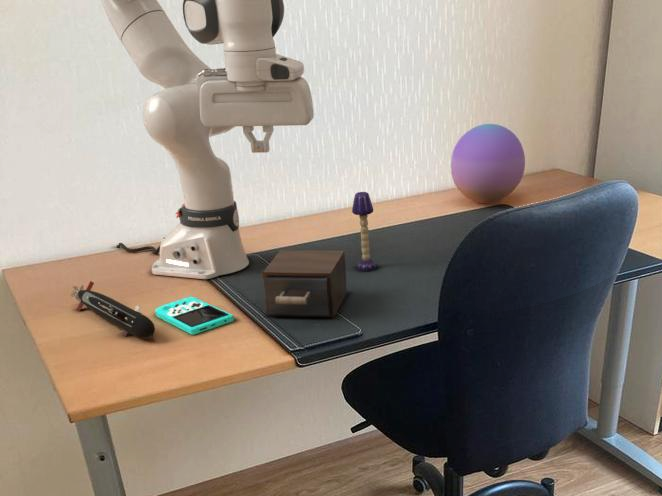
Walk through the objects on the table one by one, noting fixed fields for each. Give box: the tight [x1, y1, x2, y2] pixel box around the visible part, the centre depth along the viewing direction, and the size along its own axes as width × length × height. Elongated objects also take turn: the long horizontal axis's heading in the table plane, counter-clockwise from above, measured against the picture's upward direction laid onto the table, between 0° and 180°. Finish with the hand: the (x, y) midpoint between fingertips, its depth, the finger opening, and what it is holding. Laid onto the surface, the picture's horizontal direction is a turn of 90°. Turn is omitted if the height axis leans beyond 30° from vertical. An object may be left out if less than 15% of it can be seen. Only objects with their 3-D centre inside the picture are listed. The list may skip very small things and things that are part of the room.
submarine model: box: [70, 280, 156, 339], centre depth 166 cm, size 31×7×10 cm
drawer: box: [264, 276, 330, 316], centre depth 166 cm, size 17×12×7 cm
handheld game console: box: [154, 296, 235, 336], centre depth 169 cm, size 10×16×1 cm, turn 41°
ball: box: [450, 123, 526, 204], centre depth 225 cm, size 20×20×20 cm
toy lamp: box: [351, 191, 377, 272], centre depth 184 cm, size 5×5×17 cm
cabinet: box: [262, 249, 348, 319], centre depth 170 cm, size 14×14×9 cm
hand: (260, 151), depth 151 cm, fingers closed
